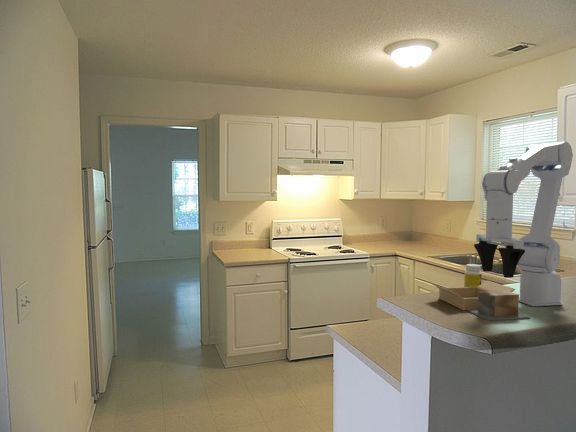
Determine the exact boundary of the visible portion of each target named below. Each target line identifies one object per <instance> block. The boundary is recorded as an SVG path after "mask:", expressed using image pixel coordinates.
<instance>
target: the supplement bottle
mask: <svg viewBox="0 0 576 432" xmlns="http://www.w3.org/2000/svg"><path fill="white" fill-rule="evenodd" d="M481 268H482V265H481V264H476V263H469V264H468V263H467V264H465V271H464V279H463V280H464V281H463V282H464V283H463V287H478V286H479V285H481V284H482V275H483V274H482V272H481V270H482V269H481Z"/></svg>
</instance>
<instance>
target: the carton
mask: <svg viewBox="0 0 576 432" xmlns="http://www.w3.org/2000/svg"><path fill="white" fill-rule="evenodd" d="M430 284H431V285H433V287H436V288H438V289H439V292H438V294H439V295H438V299H439V300H441V301H443V302H445V303H448V304H450V305H452V306H454V307H456V308H459V309H461V310H462V311H468V310H474V309H478V297H479V292H488V291H510V292H513V293H514V292H515V290H516V289H515V288H513V287H510V286H507V285H505V284H500V283H498V282H494V281H491V280H486V281H484V282H483V283H482V282H481V285H479V286H478V287H464V286H461V287H443V286H441V285H439V284H436V283H433V282H430Z"/></svg>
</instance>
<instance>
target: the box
mask: <svg viewBox="0 0 576 432" xmlns="http://www.w3.org/2000/svg"><path fill="white" fill-rule="evenodd" d="M519 297H520V293H515V292H514V291H513V292H510V291H488V292H479V297H478V312H480V313H482V314H484V315H486V316H508V315H518V312H519V306H520V305H519V303H520V301H519Z"/></svg>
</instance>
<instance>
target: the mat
mask: <svg viewBox="0 0 576 432" xmlns="http://www.w3.org/2000/svg"><path fill="white" fill-rule="evenodd" d="M467 311H468V313H471V314H473V315H475V316H477V317H480V318H481V319H484V320H486V321H487V322H493V321H494V322H495V321H512V320H531V317H530V316H528V315H526V314H523V313H521V312H519V311H518V315H508V316H486V315H484V314H482V313H480V312H478V309H474V310H467Z"/></svg>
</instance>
